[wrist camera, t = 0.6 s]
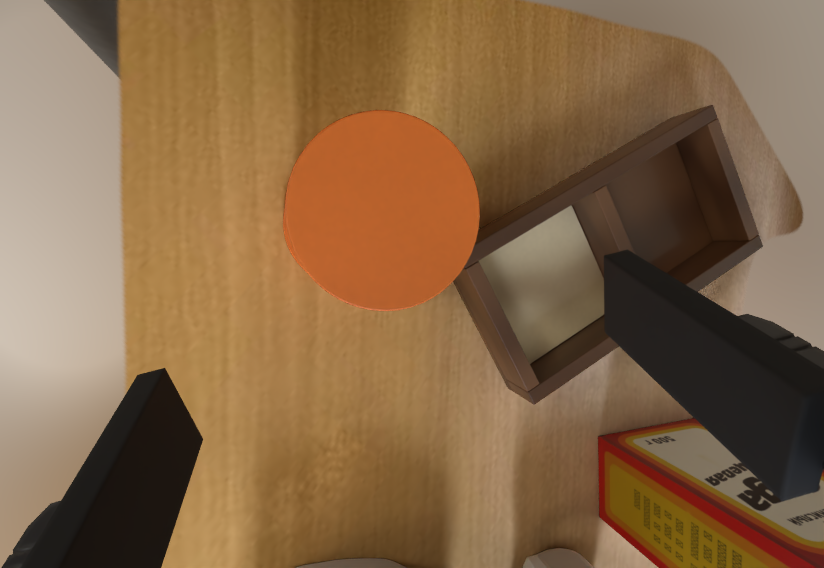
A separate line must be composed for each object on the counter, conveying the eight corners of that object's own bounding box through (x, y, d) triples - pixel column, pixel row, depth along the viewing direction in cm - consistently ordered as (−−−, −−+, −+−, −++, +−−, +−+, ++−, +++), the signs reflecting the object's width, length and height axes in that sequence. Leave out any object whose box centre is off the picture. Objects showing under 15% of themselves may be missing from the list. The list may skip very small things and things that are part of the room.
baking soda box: (599, 517, 36) (831, 715, 21) (598, 436, 36) (837, 580, 20) (697, 493, 39) (968, 655, 24) (697, 417, 38) (977, 532, 23)
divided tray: (438, 253, 31) (458, 254, 28) (670, 117, 35) (713, 104, 32) (507, 388, 33) (534, 405, 30) (719, 246, 37) (763, 246, 34)
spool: (258, 198, 28) (243, 166, 16) (369, 142, 29) (426, 76, 18) (322, 307, 29) (350, 348, 18) (424, 249, 31) (510, 251, 19)
